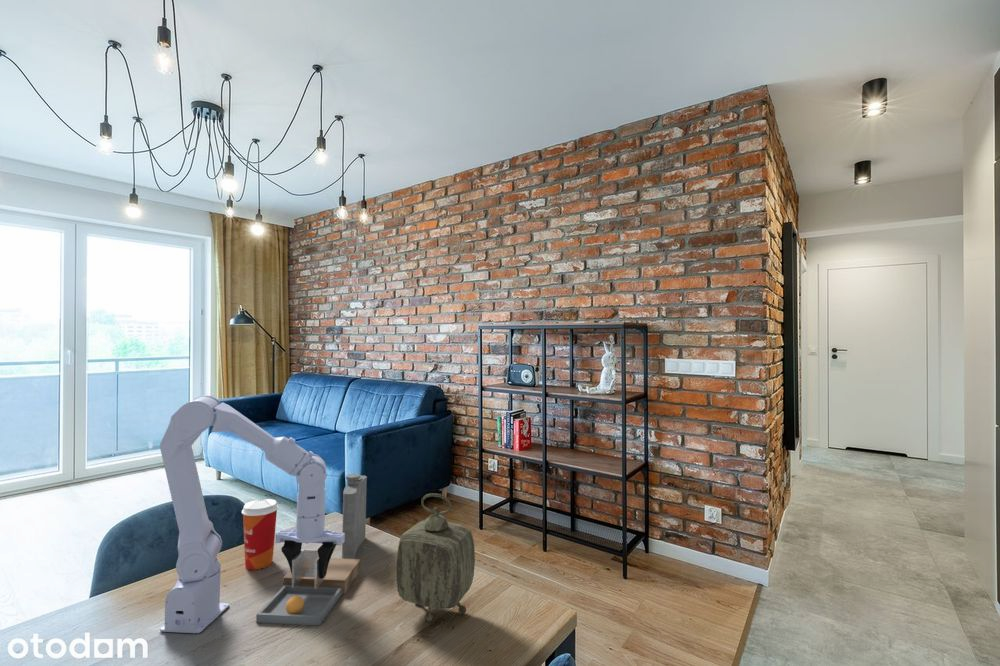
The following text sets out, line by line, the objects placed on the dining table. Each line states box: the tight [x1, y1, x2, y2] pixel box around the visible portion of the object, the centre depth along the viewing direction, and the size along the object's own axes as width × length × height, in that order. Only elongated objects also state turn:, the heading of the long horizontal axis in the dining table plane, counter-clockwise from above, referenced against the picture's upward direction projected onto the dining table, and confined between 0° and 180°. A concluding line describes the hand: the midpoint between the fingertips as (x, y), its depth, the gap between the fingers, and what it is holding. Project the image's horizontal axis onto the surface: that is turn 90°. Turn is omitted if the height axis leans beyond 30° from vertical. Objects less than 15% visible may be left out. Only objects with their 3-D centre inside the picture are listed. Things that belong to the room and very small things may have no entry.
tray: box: [255, 585, 343, 626], centre depth 99 cm, size 11×13×2 cm
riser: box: [282, 557, 361, 595], centre depth 110 cm, size 10×14×3 cm
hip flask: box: [341, 473, 368, 559], centre depth 127 cm, size 16×4×20 cm, turn 4°
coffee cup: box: [241, 498, 279, 571], centre depth 117 cm, size 8×8×15 cm
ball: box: [286, 596, 304, 614], centre depth 96 cm, size 3×3×3 cm
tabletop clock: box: [395, 492, 476, 623], centre depth 97 cm, size 14×9×25 cm, turn 70°
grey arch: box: [292, 548, 326, 589], centre depth 103 cm, size 5×5×6 cm
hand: (309, 575), depth 103 cm, fingers closed on grey arch, 5 cm apart
